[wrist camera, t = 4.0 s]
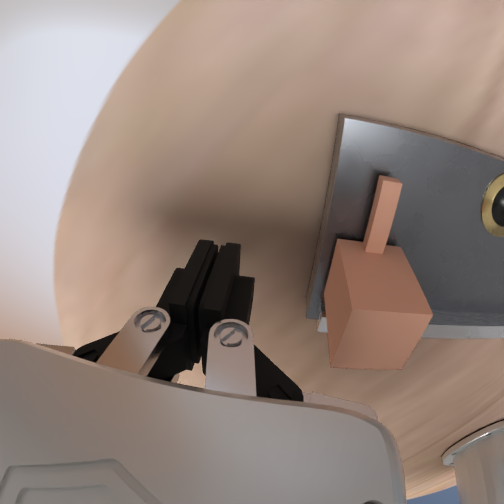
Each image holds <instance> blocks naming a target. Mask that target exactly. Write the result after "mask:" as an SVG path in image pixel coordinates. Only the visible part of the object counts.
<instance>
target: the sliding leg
mask: <svg viewBox="0 0 504 504" xmlns="http://www.w3.org/2000/svg"><path fill="white" fill-rule="evenodd" d="M401 188H402V183H401V182H400V180H399V179H397V178H392V177H387V176H382V175H379V179H378V184H377V188H376V193H375V197H374V201H373V205H372V209H371V214H370V218H369V222H368V225H367V229H366V233H365V237H364V241H363V242H360V241H352V240H344V239H337V242H336V246H335V251H334V255H333V259H332V263H331V267H330V271H329V275H328V279H327V283H326V287H325V291H324V300H325V310H326V321H327V332H328V344H329V358H330V367H333V368H351V369H380V370H402V368H403V366H404V365H405V363H406V362H407V360H408V358H409V357H410V355H411V353H412V352H413V350H414V348H415V347H416V345H417V343H418V342H419V340H420V338H421V336H422V335H423V333H424V331H425V329H426V327H427V326H428V324H429V322H430V320H431V318H432V316H433V313H432V311H431V308H430V306H429V304H428V302H427V300H426V297H425V295H424V293H423V291H422V289H421V287H420V284H419V282H418V280H417V278H416V276H415V274H414V272H413V270H412V268H411V266H410V264H409V262H408V260H407V258H406V256H405V254H404V252H403V250H402V248H401V247H396V246H389V245H386V242H387V239H388V236H389V232H390V229H391V225H392V222H393V218H394V215H395V211H396V208H397V204H398V200H399V196H400V192H401Z"/></svg>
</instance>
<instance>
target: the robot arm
mask: <svg viewBox="0 0 504 504" xmlns="http://www.w3.org/2000/svg"><path fill="white" fill-rule="evenodd" d="M240 249H241V245H240V244H235V243H226V246H221V247H220V250H219V253H218V245H214V242H213V241H209V240H199V241H198V243H197V245H196V247H195V249H194V251H193V253H192V255H191V257H190V259H189V261H188V263H187V265H186V267H185V269H182V268H176V270H175V271H174V273H173V275H172V277H171V279H170V281H169V283H168V284H167V286H166V288H165V290H164V292H163V294H162V296H161V298H160V300H159V302H158V304H157V306H156V307H146V308H142V309H140V310H138V311H136V312H135V313H134V314H133V315H132V316H131V318H130V319H129V320H128V322H127V323H126V324H125V325H124V327H123V328H122V329H121V331H119V332H117V333H114V334H112V335H109V336H107V337H104V338H102V339H99V340H97V341H94V342H91V343H89V344H86V345H84V346H82V347H80V348H78V349H77V350H75V348H74V347H68V346H57V345H47V344H37V343H36V344H35V343H31V342H27V341H22V340H15V339H0V504H407V503H406V489H405V478H404V471H403V465H402V460H401V456H400V451H399V448H398V445H397V443H396V440H395V438H394V436H393V434H392V433H391V432H390V430H389V429H388V428H387V427H386V426H384V425H383V424H382V423H380V422H378V420H377V415H376V413H375V411H374V410H373V409H372V408H370V407H369V406H367V405H364V404H361V403H356V402H352V401H348V400H343V399H339V398H335V397H331V396H327V395H323V394H320V393H316V392H312V394H309V393H305V392H302V391H301V389H300V388H299V387H298V386H297V385H296V384H295V383H294V382H293V381H292V380H291V379H290V378H289V377H288V376H287V375H285V374H284V373H283V372H282V371H281V370H280V369H279V368H278V367H277V366H276V365H275V364H274V363H273V362H272V361H271V360H270V359H268V358H267V357H266V356H265V355H264V354H263V353H262V352H261V351H260V350H259V349H258V348H257V347H256V346H255V345H254V340H253V332H252V329H251V328H250V327H249V321H250V315H251V309H252V302H253V293H254V282H255V278H253V277H245V276H239V268H240ZM201 356H202V368H203V373H204V374H205V376H206V379H205V389H204V388H198V387H193V386H188V385H183V384H178V383H177V381H178V379H179V373H180V372H182V371H184V370H192V369H193V366H194V363H199V361H200V358H201ZM442 461H443V464H444V465H446V466H454V470H455V476H456V482H457V488H458V496H459V503H460V504H504V420H503V421H500V422H497V423H495V424H492V425H490V426H488V427H486V428H483V429H481V430H479V431H477V432H475V433H473V434H472V435H470V436H468V437H466V438H464V439H463V440H461V441H459V442H458V443H456V444H455V445H453V446H452V447H451V448H449V449H448V450H447V451H446V452H445V453H444V455H443V456H442Z"/></svg>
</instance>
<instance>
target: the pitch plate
mask: <svg viewBox="0 0 504 504" xmlns="http://www.w3.org/2000/svg"><path fill="white" fill-rule="evenodd" d="M379 175H382V176H387V177H392V178H397V179H399V180H400V182H401V183H402V188H401V192H400V196H399V200H398V204H397V208H396V211H395V215H394V218H393V222H392V225H391V229H390V232H389V236H388V239H387V242H386V245H389V246H396V247H401V248H402V250H403V252H404V254H405V256H406V258H407V260H408V262H409V264H410V266H411V268H412V270H413V272H414V274H415V276H416V278H417V280H418V282H419V284H420V287H421V289H422V291H423V293H424V295H425V297H426V300H427V302H428V304H429V306H430V308H431V311H432V313H433V316H432V318H431V320H430V322H429V324H428V326H427V327H426V329H425V331H424V333H423V335H422V336H421V338H447V339H479V338H504V158H501V157H498V156H496V155H493V154H491V153H488V152H485V151H482V150H480V149H477V148H474V147H471V146H468V145H465V144H462V143H459V142H456V141H453V140H450V139H446V138H443V137H440V136H436V135H433V134H429V133H426V132H422V131H418V130H414V129H411V128H407V127H403V126H398V125H394V124H390V123H386V122H381V121H376V120H372V119H367V118H362V117H356V116H351V115H345V114H340V113H339V118H338V126H337V133H336V140H335V147H334V153H333V160H332V166H331V172H330V178H329V184H328V190H327V196H326V202H325V207H324V213H323V218H322V223H321V229H320V234H319V239H318V244H317V249H316V254H315V259H314V264H313V269H312V273H311V278H310V283H309V287H308V292H307V296H306V318H309V319H317V329H318V332H327V321H326V310H325V300H324V291H325V287H326V283H327V279H328V275H329V271H330V267H331V263H332V259H333V255H334V251H335V246H336V242H337V239H344V240H352V241H360V242H363V241H364V237H365V233H366V229H367V225H368V222H369V218H370V214H371V209H372V205H373V201H374V197H375V193H376V188H377V184H378V179H379ZM327 333H328V332H327Z"/></svg>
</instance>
